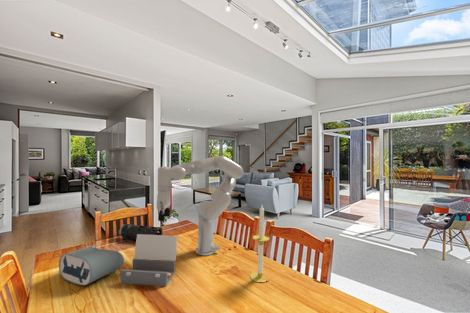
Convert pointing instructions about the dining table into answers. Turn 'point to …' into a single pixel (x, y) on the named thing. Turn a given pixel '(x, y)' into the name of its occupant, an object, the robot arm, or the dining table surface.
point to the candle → (260, 248)
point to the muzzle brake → (138, 231)
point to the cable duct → (149, 272)
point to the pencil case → (89, 264)
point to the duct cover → (156, 247)
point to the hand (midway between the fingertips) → (164, 218)
